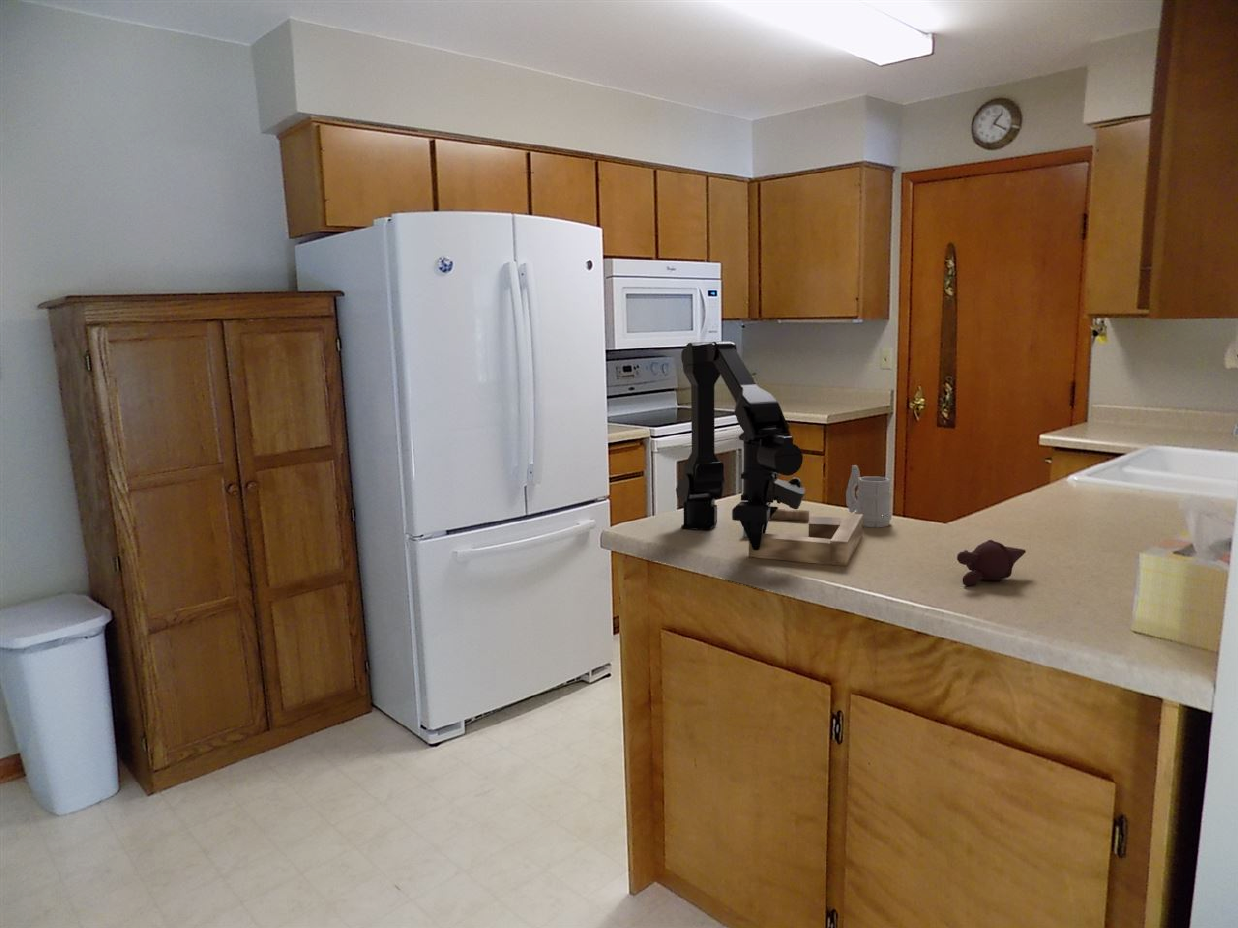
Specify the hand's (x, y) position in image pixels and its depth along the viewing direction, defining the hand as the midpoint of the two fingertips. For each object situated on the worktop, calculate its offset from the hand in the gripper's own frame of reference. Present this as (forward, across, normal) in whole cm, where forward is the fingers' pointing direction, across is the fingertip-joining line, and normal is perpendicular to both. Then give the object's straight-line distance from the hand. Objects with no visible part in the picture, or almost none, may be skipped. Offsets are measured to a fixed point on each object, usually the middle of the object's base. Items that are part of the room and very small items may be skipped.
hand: (757, 547), depth 153 cm
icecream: (+2, -3, -40) cm, 40 cm away
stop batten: (+2, +17, +4) cm, 18 cm away
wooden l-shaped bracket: (+2, +9, -8) cm, 12 cm away
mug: (+2, +33, -18) cm, 37 cm away
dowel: (+2, +31, -1) cm, 31 cm away
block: (+2, +16, -11) cm, 19 cm away
